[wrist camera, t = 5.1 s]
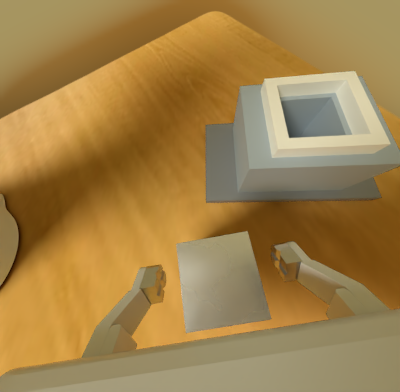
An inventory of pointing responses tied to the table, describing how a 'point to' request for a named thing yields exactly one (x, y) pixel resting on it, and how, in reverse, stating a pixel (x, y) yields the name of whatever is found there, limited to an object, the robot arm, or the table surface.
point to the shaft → (220, 283)
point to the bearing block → (290, 166)
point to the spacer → (324, 145)
